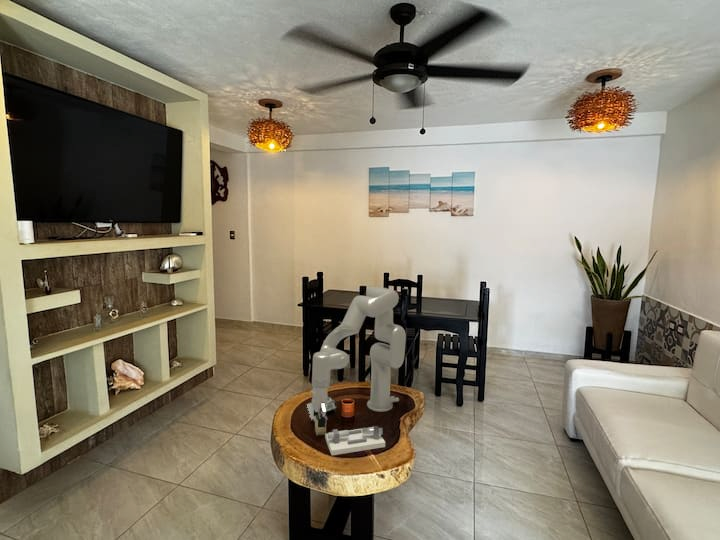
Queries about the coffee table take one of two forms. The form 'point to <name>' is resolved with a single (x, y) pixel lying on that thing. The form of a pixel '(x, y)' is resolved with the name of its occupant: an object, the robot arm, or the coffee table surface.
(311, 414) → the metal bracket
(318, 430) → the coupler
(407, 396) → the coffee table surface
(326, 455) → the coffee table surface
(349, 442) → the shaft mount
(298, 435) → the coffee table surface
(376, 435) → the left shaft
